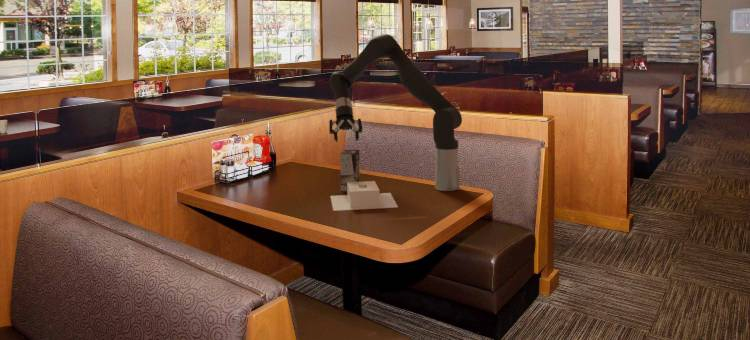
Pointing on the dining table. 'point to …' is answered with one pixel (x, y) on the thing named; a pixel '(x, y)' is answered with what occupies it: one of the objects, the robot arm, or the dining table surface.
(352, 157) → the grey tall block
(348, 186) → the beige cube with notch
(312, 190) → the dining table surface
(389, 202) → the mat
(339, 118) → the robot arm
